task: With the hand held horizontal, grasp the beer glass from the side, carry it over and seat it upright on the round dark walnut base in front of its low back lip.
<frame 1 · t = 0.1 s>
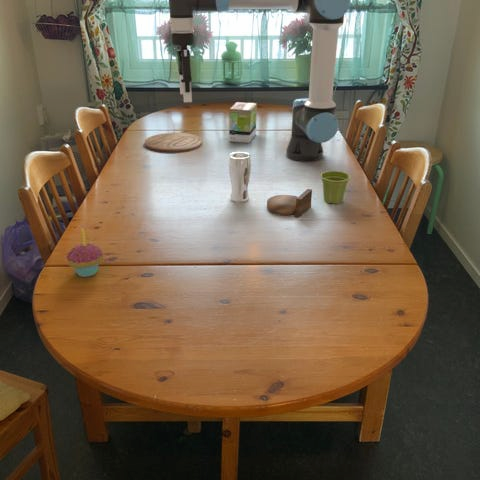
hand: (185, 97, 173), 28 cm above the table, tool pointing down, fingers open, 13 cm apart
cupcake: (87, 272, 124), on the table
tea box: (242, 138, 229), on the table
plant pot: (332, 201, 165), on the table
trivet: (173, 145, 220), on the table
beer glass: (239, 199, 166), on the table
walnut base: (285, 207, 159), on the table
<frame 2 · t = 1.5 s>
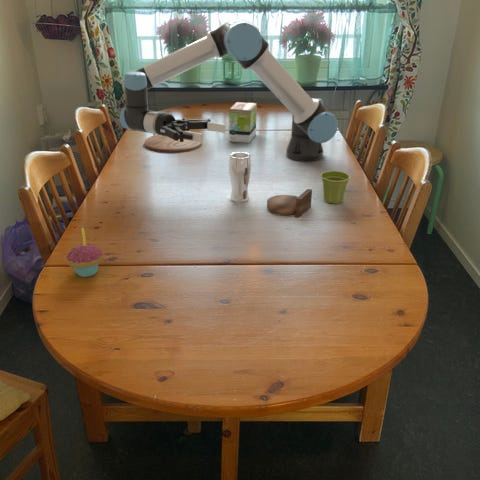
hand: (214, 133, 160), 21 cm above the table, tool horizontal, fingers open, 13 cm apart
nothing on the table moved.
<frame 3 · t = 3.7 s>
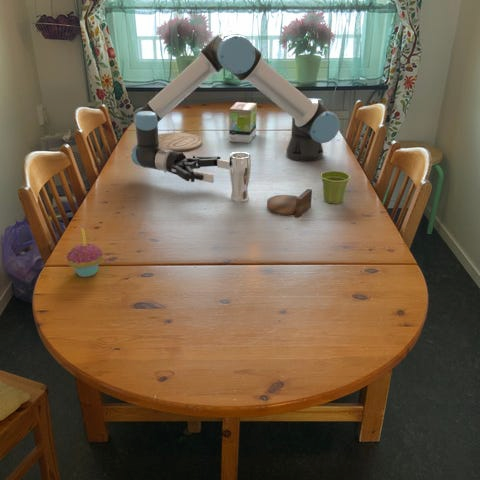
hand: (224, 172, 164), 8 cm above the table, tool horizontal, fingers open, 13 cm apart
nothing on the table moved.
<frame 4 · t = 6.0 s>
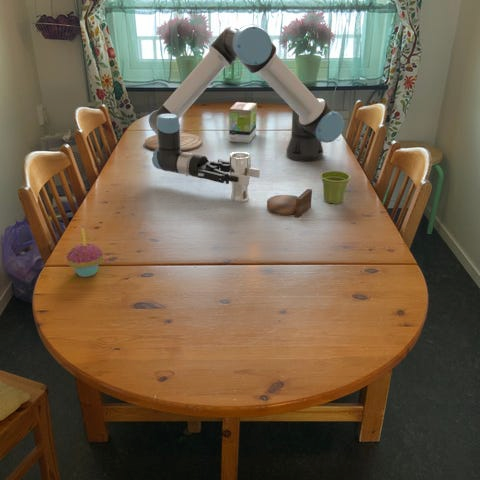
hand: (253, 177, 159), 9 cm above the table, tool horizontal, fingers closed on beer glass, 7 cm apart
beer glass: (239, 199, 166), on the table, touching gripper
everything else where it was.
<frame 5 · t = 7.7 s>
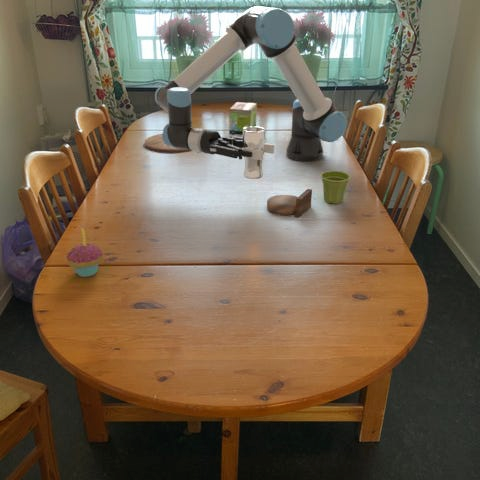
hand: (268, 152, 152), 18 cm above the table, tool horizontal, fingers closed on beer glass, 7 cm apart
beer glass: (253, 176, 159), point 9 cm above the table, touching gripper
everything else where it was.
when the fingers open (12 cm above the table, at t = 9.8 s): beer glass drops 1 cm, resting on walnut base.
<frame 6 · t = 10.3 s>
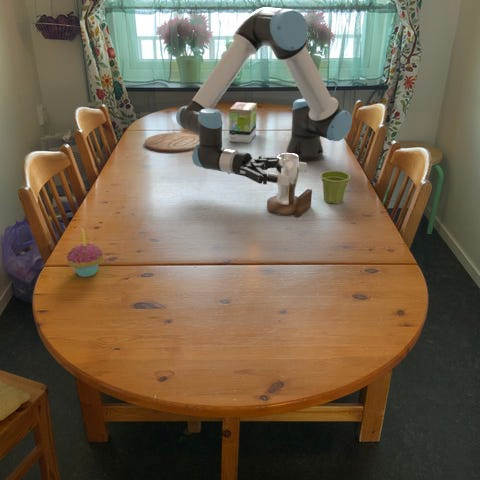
hand: (297, 174, 152), 12 cm above the table, tool horizontal, fingers open, 13 cm apart
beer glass: (285, 202, 158), point 2 cm above the table, touching walnut base
everything else where it was.
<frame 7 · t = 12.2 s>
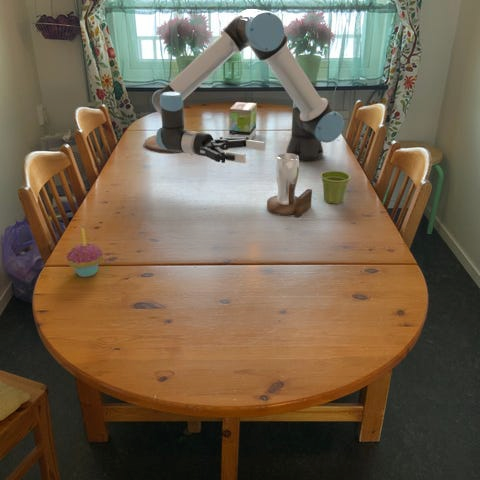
hand: (255, 152, 158), 16 cm above the table, tool horizontal, fingers open, 13 cm apart
nothing on the table moved.
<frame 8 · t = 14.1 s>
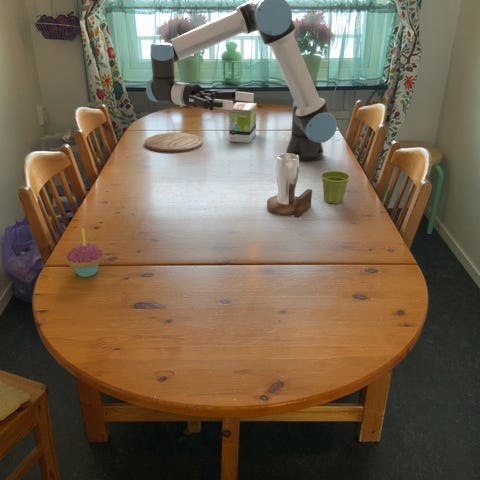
hand: (243, 101, 159), 30 cm above the table, tool horizontal, fingers open, 13 cm apart
nothing on the table moved.
at the end: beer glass inside the target area on the walnut base (0.0 cm from its centre), point 1.8 cm above the walnut base's base; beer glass tilted 0°; the gripper is holding nothing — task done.
